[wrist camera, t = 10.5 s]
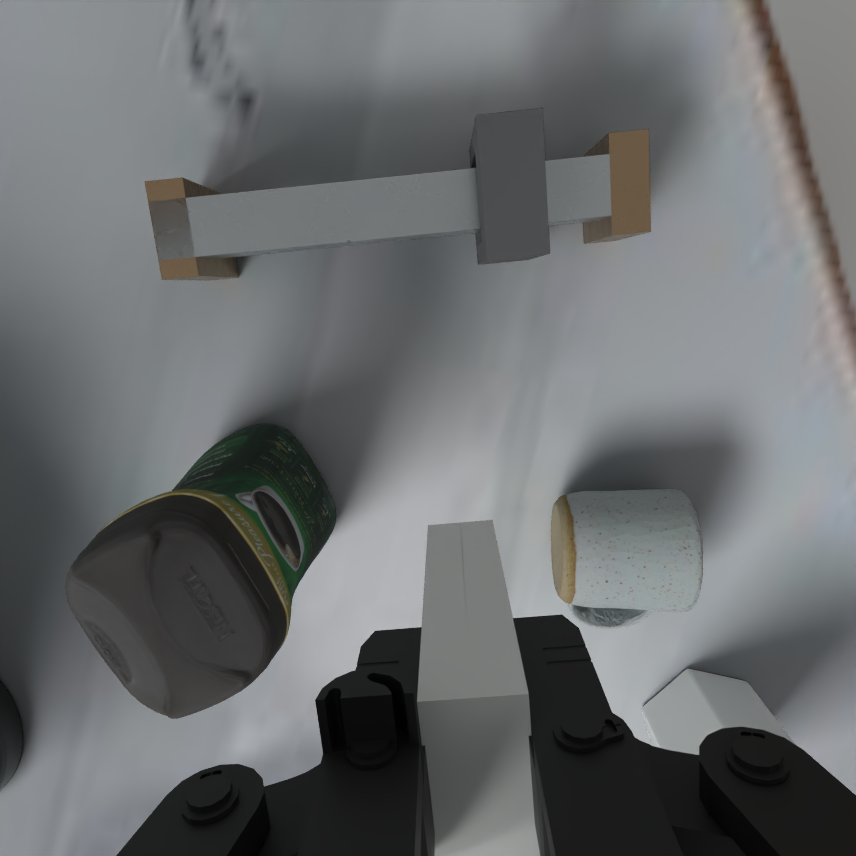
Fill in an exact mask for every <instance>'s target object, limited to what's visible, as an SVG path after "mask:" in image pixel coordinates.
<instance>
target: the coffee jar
mask: <svg viewBox="0 0 856 856" xmlns="http://www.w3.org/2000/svg"><path fill="white" fill-rule="evenodd" d="M335 522H336V510H335V505H334V502H333V500H332V497H331V495H330V492H329V490H328V488H327V486H326V484H325V482H324V480H323V478H322V476H321V474H320V473H319V471H318V469H317V467H316V466H315V464H314V463H313V461H312V459H311V458H310V456H309V455H308V453H307V452H306V451H305V449H304V448H303V447H302V445H301V444H300V443H299V442H298V440H297V439H296V438H295V437H294V436H293V435H292V434H291V433H290V432H289V431H287V430H285V429H284V428H282V427H279V426H277V425H272V424H257V425H253V426H250V427H247V428H244V429H242V430H240V431H238V432H236V433H234V434H232V435H230V436H228V437H226V438H224V439H223V440H221V441H220V442H218V443H217V444H215V445H214V446H213V447H212V448H210V449H209V450H208V451H207V452H205V453H204V454H203V455H202V456H201V457H200V458H199V459H198V461H197V462H196V463H195V464H194V465H193V466H192V467H191V469H190V470H189V471H188V472H187V473H186V475H185V476H184V477H183V478H182V480H181V481H180V482H179V483H178V484H177V485H176V487H175V488H174V489H173V490H172V491H170V492H167V493H163V494H160V495H158V496H155V497H153V498H150V499H148V500H146V501H143V502H141V503H139V504H138V505H136V506H134V507H132V508H130V509H129V510H127V511H125V512H124V513H122V514H121V515H119V516H118V517H116V518H115V519H114V520H112V521H111V522H109V523H108V524H107V525H106V526H105V527H103V528H102V529H101V531H100V532H99V533H98V534H97V535H96V537H95V538H94V539H93V540H92V541H91V542H90V544H89V545H88V546H87V547H86V549H84V550H83V551H82V552H81V553H80V555H79V556H78V558H77V559H76V561H75V562H74V563H73V565H72V566H71V568H70V570H69V572H68V574H67V578H66V595H67V599H68V603H69V605H70V607H71V610H72V612H73V613H74V615H75V617H76V619H77V620H78V622H79V623H80V625H81V626H82V628H83V630H84V631H85V633H86V634H87V636H88V638H89V639H90V641H91V642H92V644H93V645H94V647H95V648H96V650H97V651H98V652H99V654H100V655H101V656H102V658H103V659H104V661H105V662H106V663H107V665H108V666H109V667H110V669H111V670H112V671H113V672H114V674H115V675H116V676H117V677H118V679H119V680H120V681H121V683H122V684H123V686H124V687H125V688H126V689H127V690H128V691H129V692H130V694H132V695H133V696H134V697H135V698H136V699H137V700H138V701H140V702H141V703H142V704H144V705H145V706H147V707H148V708H150V709H152V710H154V711H156V712H158V713H160V714H163V715H167V716H168V717H169V718H172V719H174V718H181V717H184V716H187V715H190V714H193V713H196V712H199V711H201V710H204V709H206V708H209V707H211V706H213V705H216V704H218V703H220V702H222V701H224V700H226V699H228V698H230V697H231V696H233V695H235V694H237V693H238V692H240V691H242V690H243V689H244V688H246V687H247V686H248V685H250V684H251V683H252V682H253V681H254V680H255V679H256V678H257V677H258V676H259V675H260V674H261V673H262V672H263V671H264V670H265V669H266V668H267V666H268V665H269V663H270V661H271V660H272V659H273V657H274V656H275V654H276V653H277V652H278V651H279V649H280V648H281V646H282V645H283V643H284V641H285V639H286V636H287V633H288V630H289V625H290V617H291V604H292V598H293V595H294V592H295V590H296V588H297V586H298V584H299V582H300V580H301V579H302V577H303V576H304V574H305V572H306V571H307V569H308V568H309V566H310V565H311V563H312V562H313V560H314V559H315V558H316V556H317V555H318V554H319V552H320V551H321V549H322V548H323V547H324V545H325V544H326V542H327V540H328V539H329V537H330V535H331V533H332V531H333V529H334V526H335Z"/></svg>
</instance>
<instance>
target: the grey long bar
mask: <svg viewBox="0 0 856 856" xmlns="http://www.w3.org/2000/svg"><path fill="white" fill-rule="evenodd" d="M545 165H546V185H547V204H548V223H549V226H553V225H563V224H573V223H583V236H584V244H586V243H597V242H607V241H616V240H620V239H624V238H628V237H632V236H636V235H640V234H644V233H648V232H651V216H650V166H649V129H643V130H633V131H623V132H614V133H608V134H607V135H606V136H605V137H604V138H603V139H602V140H601V141H600V142H598V143H597V144H596V145H595V146H594V147H593V148H592V149H591V150H590V151H589V152H588V153H586V154H585V155H584V156H583V157H576V158H566V159H557V160H547V161H545ZM145 186H146V192H147V197H148V203H149V209H150V214H151V220H152V226H153V231H154V237H155V243H156V248H157V254H158V260H159V266H160V271H161V277H162V280H217V279H228V278H238V270H237V264H236V257H240V256H250V255H260V254H270V253H280V252H290V251H301V250H311V249H321V248H331V247H341V246H351V245H361V244H371V243H381V242H391V241H402V240H412V239H422V238H432V237H442V236H452V235H462V234H472V233H481V224H480V210H479V196H478V183H477V169H476V168H470V169H460V170H450V171H441V172H431V173H421V174H412V175H402V176H392V177H382V178H373V179H363V180H353V181H344V182H334V183H324V184H315V185H305V186H295V187H286V188H276V189H266V190H257V191H247V192H237V193H228V194H221V193H219V192H216V191H214V190H211V189H209V188H206V187H204V186H201V185H199V184H197V183H194V182H192V181H189V180H187V179H184V178H174V179H165V180H155V181H146V182H145Z"/></svg>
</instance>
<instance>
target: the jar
mask: <svg viewBox="0 0 856 856" xmlns="http://www.w3.org/2000/svg"><path fill="white" fill-rule="evenodd" d="M642 714H643V718H644V721H645V725H646V729H647V732H648V736H649V740H650V743H651V745H652V746H655V747H659V748H663V749H667V750H671V751H678V752H684V753H690V754H696V755H699V746H700V744H701V743H702V741H703V740H704V739H705V737H706V736H707V735H708V734H711V733H713V732H715V731H717V730H719V729H722V728H731V727H748V728H755V729H762V730H765V731H768V732H771V733H773V734H776V735H779V736H781V737H784V738H786V739H787V740H789V741H790V742H792V743H793V744H795V743H794V742H793V741H792V739H791V738H790V737H789V736H788V734H787V733H786V732H785V730H784V729H783V728H782V726H781V725H780V724H779V722H778V721H777V720H776V719H775V717H774V716H773V715H772V713H771V712H770V711H769V709H768V708H767V707H766V705H765V704H764V703H763V702H762V700H761V699H760V698H759V696H758V695H757V694H756V692H755V691H754V690H753V688H752V687H751V686H750V684H749V683H748V682H746V681H743V680H739V679H734V678H729V677H725V676H720V675H716V674H711V673H707V672H702V671H697V670H693V669H686V670H684V671H683V672H682V673H681V674H680V675H679V676H678V677H676V678H675V679H674V680H673V681H672V682H671V683H669V684H668V685H667V686H666V687H665V688H664V689H663V690H661V691H660V692H659V693H658V694H657V695H656V696H654V697H653V698H652V699H651V700H650V701H649V702H648V703H646V704H645V705H644V706H643V707H642Z"/></svg>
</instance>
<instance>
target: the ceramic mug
mask: <svg viewBox="0 0 856 856" xmlns="http://www.w3.org/2000/svg"><path fill="white" fill-rule="evenodd" d="M551 555H552V570H553V578H554V584H555V589H556V591H557V594H558V596H559V597H560V598H561V599H562V600H563V601H564V602H566V603H568V606H569V609H570V611H571V613H572V615H573V616H574V617H575V618H576V619H577V620H579V621H580V622H582V623H584V624H586V625H590V626H594V627H599V628H621V627H626V626H630V625H633V624H635V623H637V622H639V621H641V620H642V619H644V618H645V617H647V616H648V615H649V614H650V613H651V612H652V611H669V612H688V611H689V610H691V609H692V608H693V606H694V605H695V603H696V601H697V599H698V596H699V593H700V589H701V583H702V576H703V545H702V535H701V529H700V526H699V523H698V518H697V514H696V510H695V508H694V506H693V504H692V502H691V501H690V499H689V497H688V496H687V495H686V493H685V492H683V491H681V490H679V489H651V490H619V491H581V492H575V493H570V494H566V495H562V496H561V497H560V498H559V499H558V500H557V501H556V502H555V503H554V506H553V511H552V521H551ZM613 608H614V609H613Z"/></svg>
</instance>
